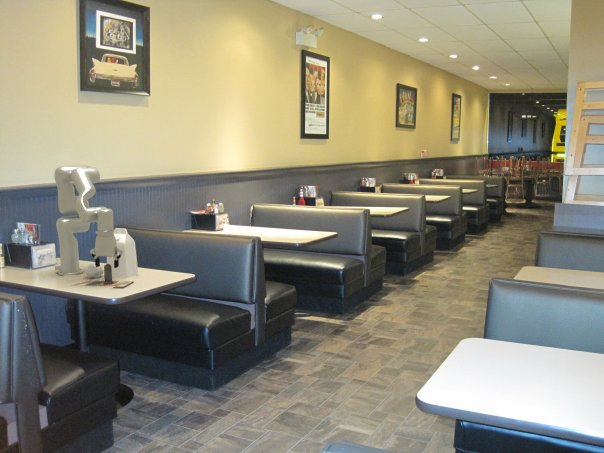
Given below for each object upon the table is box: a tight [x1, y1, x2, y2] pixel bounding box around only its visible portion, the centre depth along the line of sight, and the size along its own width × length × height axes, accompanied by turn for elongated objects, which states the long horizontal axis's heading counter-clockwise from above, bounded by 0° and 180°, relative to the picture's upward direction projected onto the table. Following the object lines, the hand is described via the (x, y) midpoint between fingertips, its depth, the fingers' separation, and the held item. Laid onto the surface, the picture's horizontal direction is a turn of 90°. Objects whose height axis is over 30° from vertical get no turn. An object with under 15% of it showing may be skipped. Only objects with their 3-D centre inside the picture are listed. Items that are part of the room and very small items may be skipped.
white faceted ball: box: [84, 263, 104, 279], centre depth 316 cm, size 8×9×10 cm
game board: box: [72, 280, 135, 289], centre depth 301 cm, size 28×13×1 cm, turn 83°
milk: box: [106, 227, 139, 279], centre depth 319 cm, size 12×12×26 cm
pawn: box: [102, 263, 114, 285], centre depth 300 cm, size 5×5×10 cm
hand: (107, 267), depth 300 cm, fingers open, 9 cm apart
